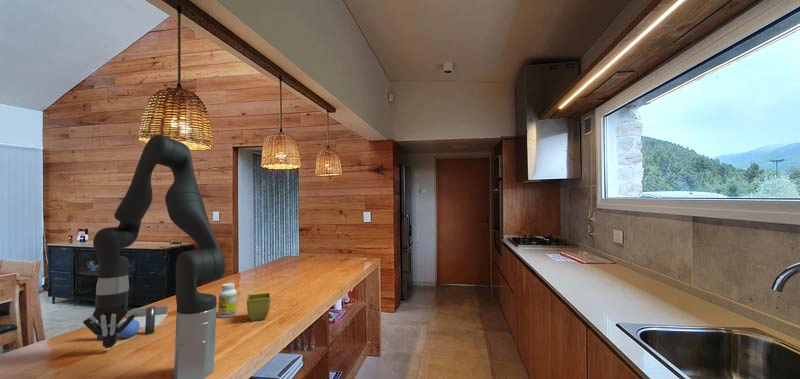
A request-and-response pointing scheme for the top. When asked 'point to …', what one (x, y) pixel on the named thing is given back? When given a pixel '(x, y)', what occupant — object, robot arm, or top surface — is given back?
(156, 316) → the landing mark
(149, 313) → the right post
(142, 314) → the stopper wall
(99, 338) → the left post
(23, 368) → the top surface
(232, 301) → the supplement bottle
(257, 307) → the flower pot
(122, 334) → the ball
